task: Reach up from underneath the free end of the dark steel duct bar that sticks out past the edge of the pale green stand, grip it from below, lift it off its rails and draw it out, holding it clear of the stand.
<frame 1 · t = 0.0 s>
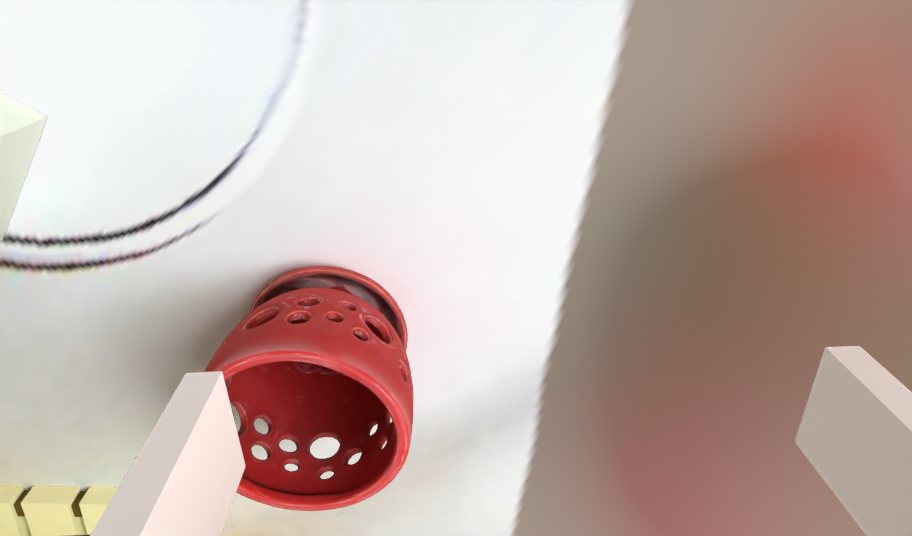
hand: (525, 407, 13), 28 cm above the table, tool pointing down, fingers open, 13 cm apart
plant pot: (329, 327, 45), on the table
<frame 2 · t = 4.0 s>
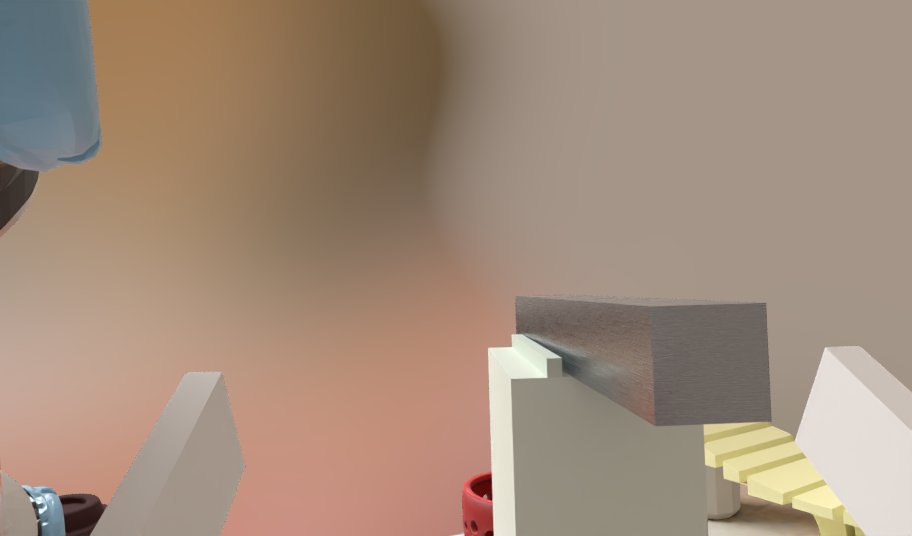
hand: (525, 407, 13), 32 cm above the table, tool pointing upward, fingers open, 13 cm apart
duct bar: (589, 365, 35), point 30 cm above the table, touching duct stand
jar: (706, 510, 91), on the table
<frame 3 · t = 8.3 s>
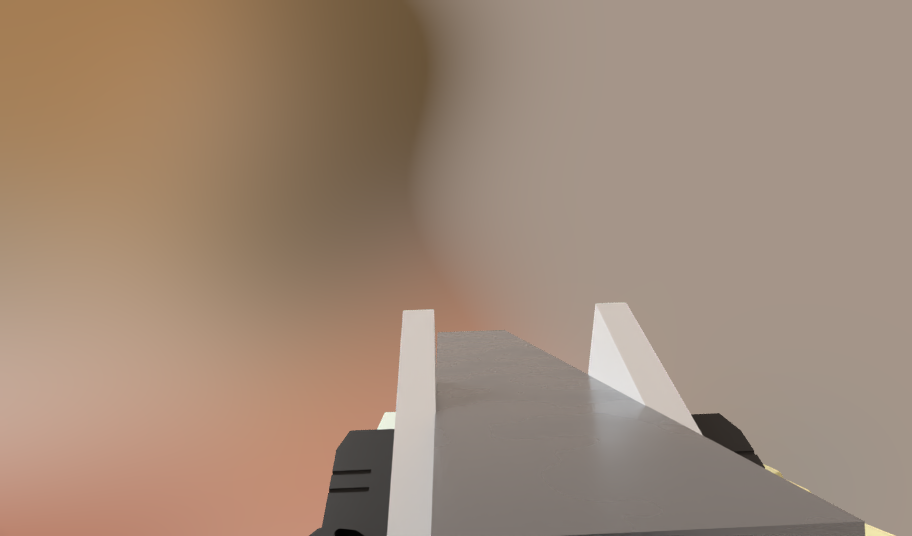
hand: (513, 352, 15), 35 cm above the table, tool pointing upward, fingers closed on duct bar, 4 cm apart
duct bar: (499, 475, 20), point 30 cm above the table, touching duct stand, gripper
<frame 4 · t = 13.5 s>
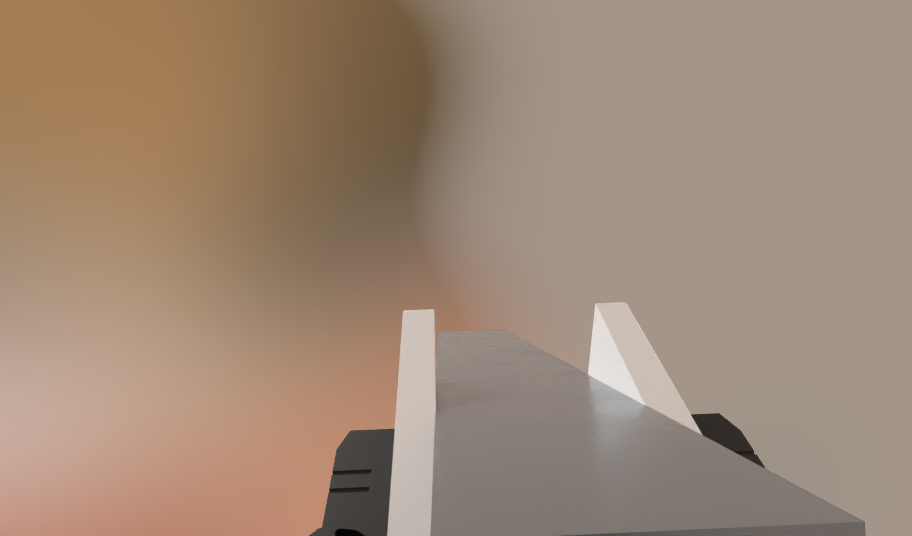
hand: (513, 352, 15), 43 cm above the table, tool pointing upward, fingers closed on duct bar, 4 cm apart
duct bar: (499, 475, 20), point 38 cm above the table, touching gripper
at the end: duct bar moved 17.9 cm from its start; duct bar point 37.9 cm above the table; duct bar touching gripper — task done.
